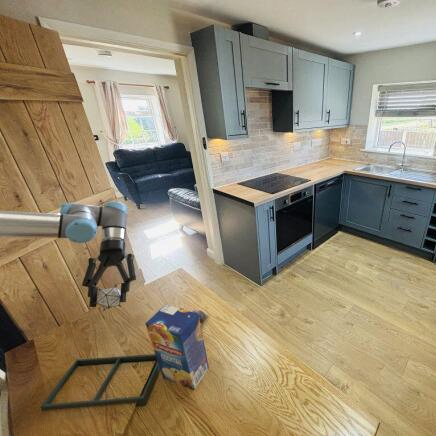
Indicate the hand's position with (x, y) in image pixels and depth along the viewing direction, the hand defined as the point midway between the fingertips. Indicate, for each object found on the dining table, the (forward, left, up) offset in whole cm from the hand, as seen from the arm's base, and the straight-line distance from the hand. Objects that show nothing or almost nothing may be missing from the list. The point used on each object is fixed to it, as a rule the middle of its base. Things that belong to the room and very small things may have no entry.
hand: (108, 304), depth 82 cm
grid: (+6, -17, -16) cm, 25 cm away
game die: (-1, +3, -4) cm, 5 cm away
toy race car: (+21, +5, -16) cm, 27 cm away
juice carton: (+28, -15, -17) cm, 36 cm away
